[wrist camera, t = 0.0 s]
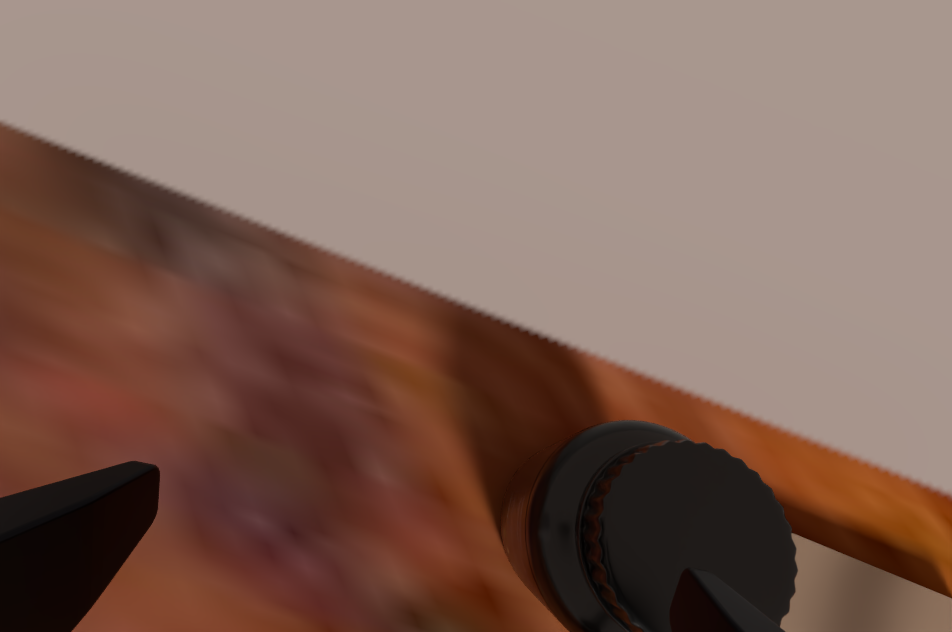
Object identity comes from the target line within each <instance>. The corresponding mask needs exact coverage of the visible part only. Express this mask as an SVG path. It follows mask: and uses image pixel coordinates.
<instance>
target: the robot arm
mask: <svg viewBox="0 0 952 632" xmlns="http://www.w3.org/2000/svg"><path fill="white" fill-rule="evenodd" d="M159 483H160V471H159V468H158V467H157V466H156V465H153V464H148V463H143V462H138V461H130V462H126V463H122V464H119V465H115V466H112V467H108V468H105V469H101V470H98V471H94V472H91V473H87V474H83V475H80V476H76V477H73V478H69V479H66V480H62V481H59V482H55V483H52V484H48V485H44V486H41V487H37V488H34V489H30V490H27V491H23V492H20V493H16V494H13V495H9V496H5V497H2V498H0V632H71V631H72V630H73V629H74V628H75V627H76V626H77V624H78V623H79V622H80V621H81V620H82V618H83V617H84V616H85V615H86V614H87V612H88V611H89V610H90V609H91V608H92V606H93V605H94V604H95V602H96V601H97V600H98V598H99V597H100V596H101V594H102V593H103V592H104V590H105V589H106V587H107V586H108V585H109V583H110V582H111V580H112V579H113V578H114V576H115V575H116V573H117V572H118V571H119V569H120V568H121V566H122V565H123V564H124V562H125V561H126V559H127V558H128V557H129V555H130V554H131V552H132V551H133V550H134V548H135V547H136V546H137V544H138V543H139V541H140V540H141V539H142V537H143V536H144V534H145V533H146V532H147V530H148V529H149V527H150V526H151V524H152V523H153V521H154V519H155V517H156V514H157V510H158V499H159ZM669 619H670V626H671V631H672V632H785V631H784V630H783V629H782V628H780V627H779V626H778V625H777V624H775V623H774V622H773V621H772V620H770V619H769V618H768V617H767V616H765V615H764V614H763V613H762V612H760V611H759V610H758V609H757V608H755V607H754V606H753V605H752V604H750V603H749V602H748V601H747V600H745V599H744V598H743V597H742V596H740V595H739V594H738V593H737V592H735V591H734V590H733V589H732V588H730V587H729V586H728V585H727V584H725V583H724V582H723V581H722V580H720V579H719V578H718V577H717V576H715V575H714V574H713V573H711V572H709V571H705V570H700V569H694V568H686V569H684V570H683V572H682V574H681V576H680V579H679V582H678V585H677V588H676V591H675V594H674V597H673V600H672V603H671V606H670V612H669Z"/></svg>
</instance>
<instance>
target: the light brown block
mask: <svg viewBox="0 0 952 632" xmlns="http://www.w3.org/2000/svg"><path fill="white" fill-rule="evenodd" d="M792 540H793V542H794V544H795V546H796V548H797V550H796V555H795V561H796V564H797V568H798V572H797V575H796V578H795V588H796V592H795V594H794V596H793V597H792V598H791V600H790V610H789V613H788V614H787V615H786V616H784V617H783V618H782V621H781V625H780V628H782V629H783V630H784V631H785V632H952V598H949V597H947V596H945V595H942V594H940V593H937V592H935V591H932V590H930V589H927V588H925V587H923V586H920V585H918V584H915V583H913V582H910V581H908V580H906V579H903V578H901V577H898V576H896V575H893V574H891V573H888V572H886V571H884V570H881V569H879V568H876V567H874V566H871V565H869V564H867V563H864V562H862V561H859V560H857V559H854V558H852V557H849V556H847V555H845V554H842V553H840V552H837V551H835V550H832V549H830V548H828V547H825V546H823V545H820V544H818V543H815V542H813V541H810V540H808V539H806V538H803V537H801V536H798V535H796V534H793V533H792Z"/></svg>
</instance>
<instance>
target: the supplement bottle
mask: <svg viewBox="0 0 952 632" xmlns="http://www.w3.org/2000/svg"><path fill="white" fill-rule="evenodd" d="M500 521H501V535H502V540H503V545H504V548H505V552H506V554H507V557H508V559H509V562H510V564H511V565H512V567H513V569H514V571H515V572H516V574H517V575H518V577H519V578H520V579H521V581H522V582H523V583H524V585H525V586H526V587H527V588H528V589H529V590H530V591H531V592H532V593H533V594H534V595H535V596H536V597H537V598H538V599H539V601H540V602H541V603H542V604H543V605H544V606H545V607H546V608H547V609H548V610H549V611H550V612H551V613H552V614H553V615H554V616H555V617H556V618H557V619H558V620H559V621H560V622H561V624H562V625H563V626H564V627H565V628H566V629H567V630H569V631H570V632H672V631H671V626H670V619H669V612H670V606H671V603H672V600H673V597H674V594H675V591H676V588H677V585H678V582H679V579H680V576H681V574H682V572H683V570H684V569H686V568H694V569H700V570H705V571H709V572H711V573H713V574H714V575H715V576H717V577H718V578H719V579H720V580H722V581H723V582H724V583H725V584H727V585H728V586H729V587H730V588H732V589H733V590H734V591H735V592H737V593H738V594H739V595H740V596H742V597H743V598H744V599H745V600H747V601H748V602H749V603H750V604H752V605H753V606H754V607H755V608H757V609H758V610H759V611H760V612H762V613H763V614H764V615H765V616H767V617H768V618H769V619H770V620H772V621H773V622H774V623H775V624H777V625H778V626H779V627H780V625H781V621H782V618H783V617H784V616H786V615H787V614H788V613H789V610H790V600H791V598H792V597H793V596H794V594H795V592H796V588H795V578H796V575H797V572H798V568H797V564H796V561H795V555H796V550H797V548H796V546H795V544H794V542H793V540H792V527H791V526H790V524H789V523H788V521H787V520H786V518H785V515H784V509H783V507H782V505H781V504H780V503H779V502H778V501H777V500H776V499H775V496H774V493H773V491H772V489H771V488H770V487H769V486H768V485H766V484H765V483H763V481H762V480H761V478H760V476H759V474H758V473H757V472H755V471H754V470H751V469H749V468H748V467H747V465H746V464H745V463H744V462H743V461H742V459H739V458H735V457H732V456H731V455H730V454H729V453H728V452H727V451H725V450H724V449H714V448H713V447H712V446H710V445H709V444H707V443H704V442H702V443H695V442H694V441H692V440H690V439H689V438H687V437H686V436H684V435H682V434H680V433H678V432H676V431H674V430H672V429H670V428H667V427H664V426H661V425H658V424H655V423H650V422H645V421H637V420H619V421H611V422H607V423H602V424H598V425H595V426H592V427H589V428H587V429H585V430H582V431H580V432H578V433H576V434H574V435H572V436H570V437H568V438H566V439H564V440H562V441H560V442H558V443H556V444H554V445H551V446H549V447H547V448H545V449H544V450H542V451H540V452H538V453H537V454H535V455H534V456H532V457H531V458H530V459H528V460H527V461H526V462H525V463H524V464H523V465H522V466H521V467H520V468H519V470H518V471H517V472H516V474H515V475H514V476H513V478H512V480H511V481H510V483H509V486H508V488H507V490H506V493H505V495H504V499H503V503H502V509H501V519H500Z"/></svg>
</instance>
